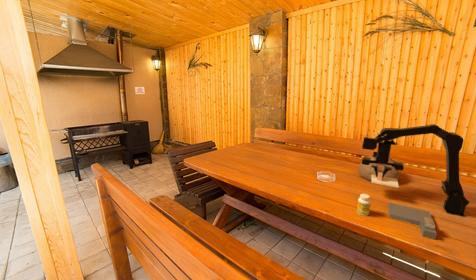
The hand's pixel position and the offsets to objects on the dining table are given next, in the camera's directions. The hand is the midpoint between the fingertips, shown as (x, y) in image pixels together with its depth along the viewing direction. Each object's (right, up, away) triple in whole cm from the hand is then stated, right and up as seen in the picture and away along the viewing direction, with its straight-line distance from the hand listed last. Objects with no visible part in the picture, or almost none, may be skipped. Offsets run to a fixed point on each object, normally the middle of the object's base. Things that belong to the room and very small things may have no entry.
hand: (379, 177), depth 116 cm
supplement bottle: (-17, -16, -13) cm, 27 cm away
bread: (+17, -4, +27) cm, 32 cm away
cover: (+2, -2, -1) cm, 3 cm away
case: (+1, -17, -20) cm, 26 cm away
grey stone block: (+2, -15, -28) cm, 32 cm away
